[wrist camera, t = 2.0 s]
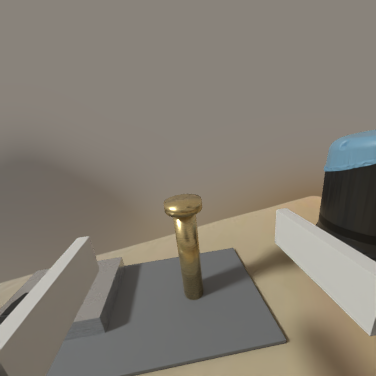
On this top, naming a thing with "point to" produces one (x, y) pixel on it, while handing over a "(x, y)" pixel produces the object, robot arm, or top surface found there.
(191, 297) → the pin
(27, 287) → the grey flat rectangular block
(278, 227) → the robot arm
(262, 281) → the top surface
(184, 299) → the mat
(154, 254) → the top surface
